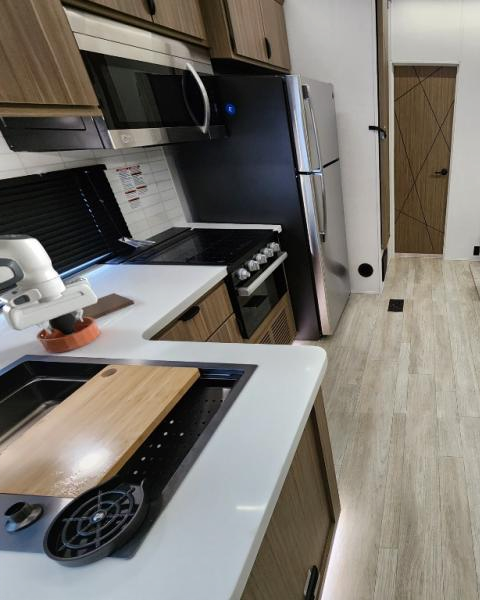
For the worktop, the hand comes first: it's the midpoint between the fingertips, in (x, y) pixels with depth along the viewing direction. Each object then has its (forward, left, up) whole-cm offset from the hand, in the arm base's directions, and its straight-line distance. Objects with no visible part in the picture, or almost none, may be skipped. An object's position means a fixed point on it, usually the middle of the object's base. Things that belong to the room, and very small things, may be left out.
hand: (66, 327), depth 104 cm
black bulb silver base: (0, 0, -5) cm, 5 cm away
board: (+15, +17, -5) cm, 23 cm away
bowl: (0, 0, -5) cm, 5 cm away
